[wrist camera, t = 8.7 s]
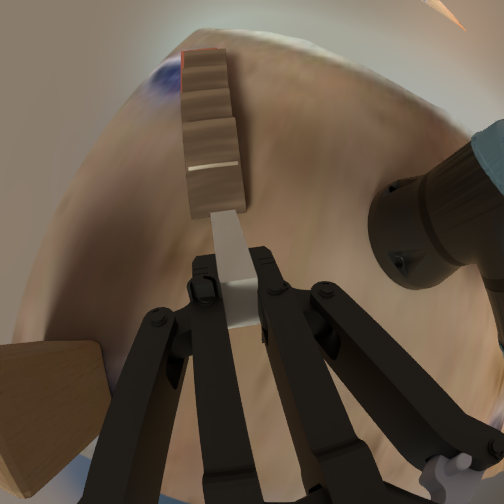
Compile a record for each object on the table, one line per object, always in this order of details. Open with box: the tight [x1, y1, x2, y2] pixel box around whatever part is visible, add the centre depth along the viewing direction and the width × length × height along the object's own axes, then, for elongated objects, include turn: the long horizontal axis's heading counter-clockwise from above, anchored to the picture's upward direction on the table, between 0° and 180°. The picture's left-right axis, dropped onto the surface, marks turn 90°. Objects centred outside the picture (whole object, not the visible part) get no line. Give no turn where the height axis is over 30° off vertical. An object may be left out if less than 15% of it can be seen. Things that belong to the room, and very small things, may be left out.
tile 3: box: [182, 65, 228, 93], centre depth 31 cm, size 2×6×11 cm
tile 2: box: [180, 88, 232, 178], centre depth 30 cm, size 2×6×11 cm
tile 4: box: [184, 49, 226, 68], centre depth 32 cm, size 2×6×11 cm
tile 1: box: [182, 117, 247, 219], centre depth 29 cm, size 2×6×11 cm
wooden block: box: [0, 340, 112, 499], centre depth 15 cm, size 10×10×20 cm
